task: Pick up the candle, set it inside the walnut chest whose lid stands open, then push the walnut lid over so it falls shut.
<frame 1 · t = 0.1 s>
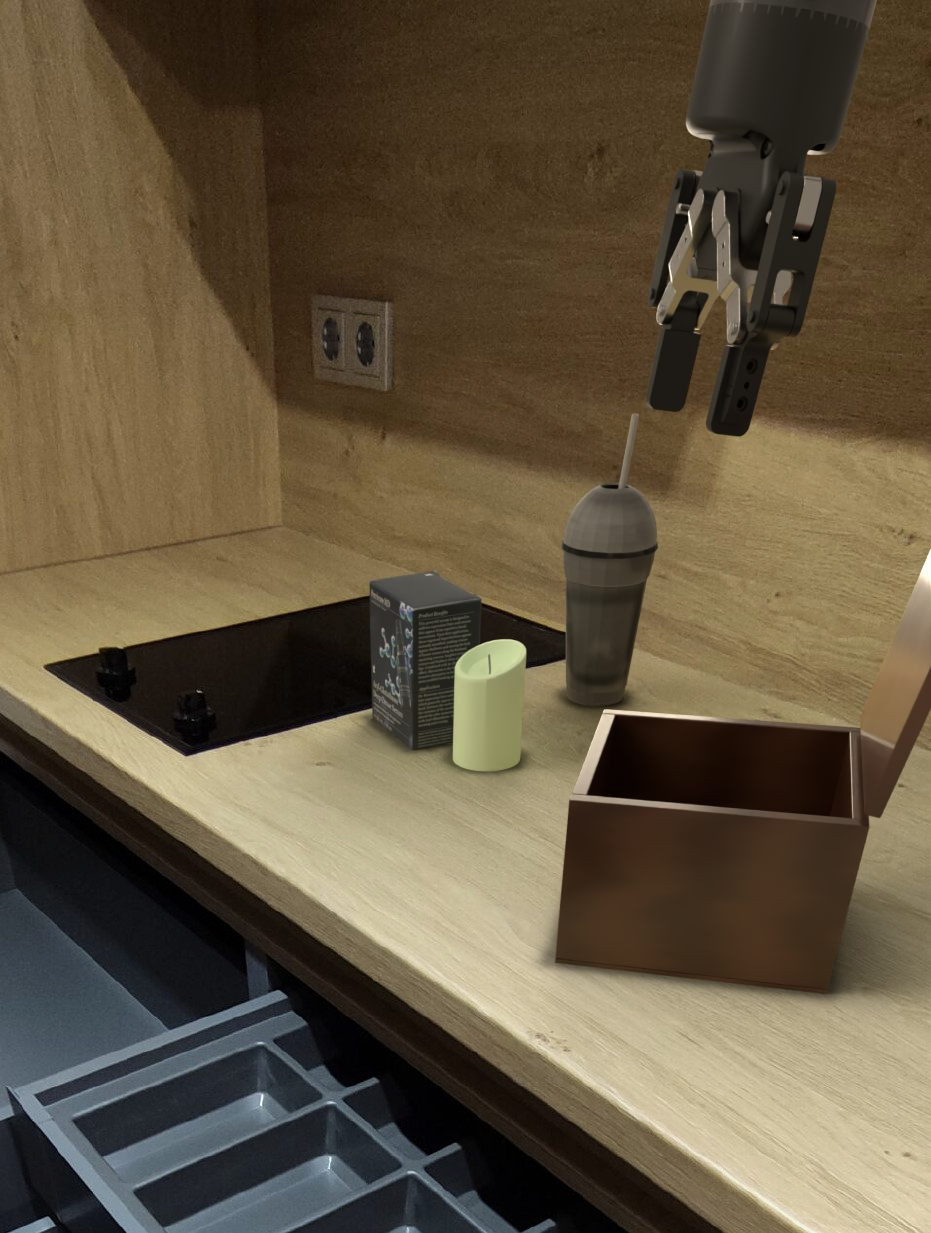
hand: (692, 421, 68), 23 cm above the table, tool pointing down, fingers open, 8 cm apart
candle: (485, 767, 92), on the table
box: (423, 737, 97), on the table
beverage cup: (593, 705, 102), on the table
chest: (695, 928, 73), on the table
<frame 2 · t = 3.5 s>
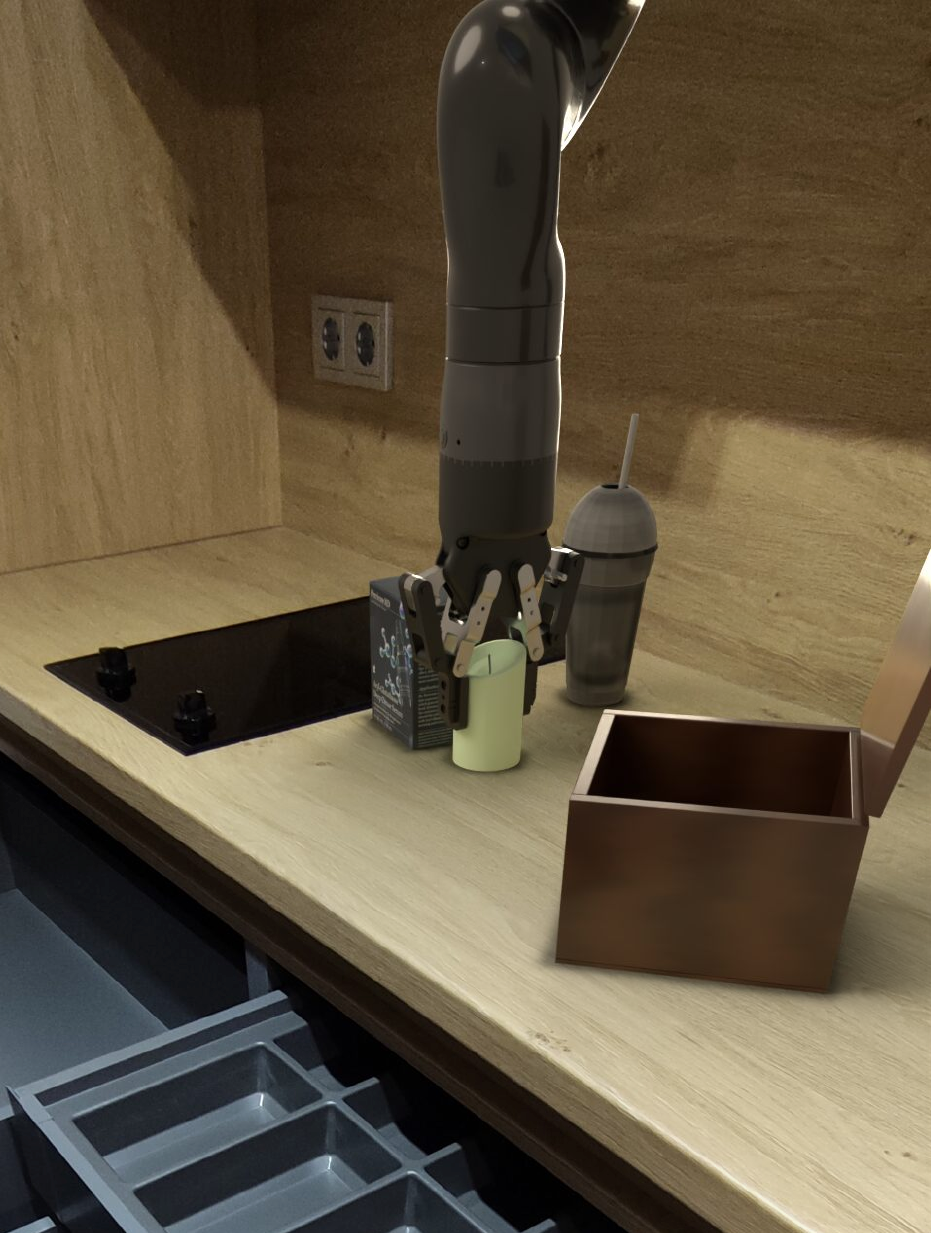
hand: (487, 718, 90), 3 cm above the table, tool pointing down, fingers closed on candle, 5 cm apart
candle: (485, 768, 92), on the table, touching gripper
everything else where it was.
when the fingers open (4 cm above the table, at t = 13.4 s): candle stays where it is, resting on chest.
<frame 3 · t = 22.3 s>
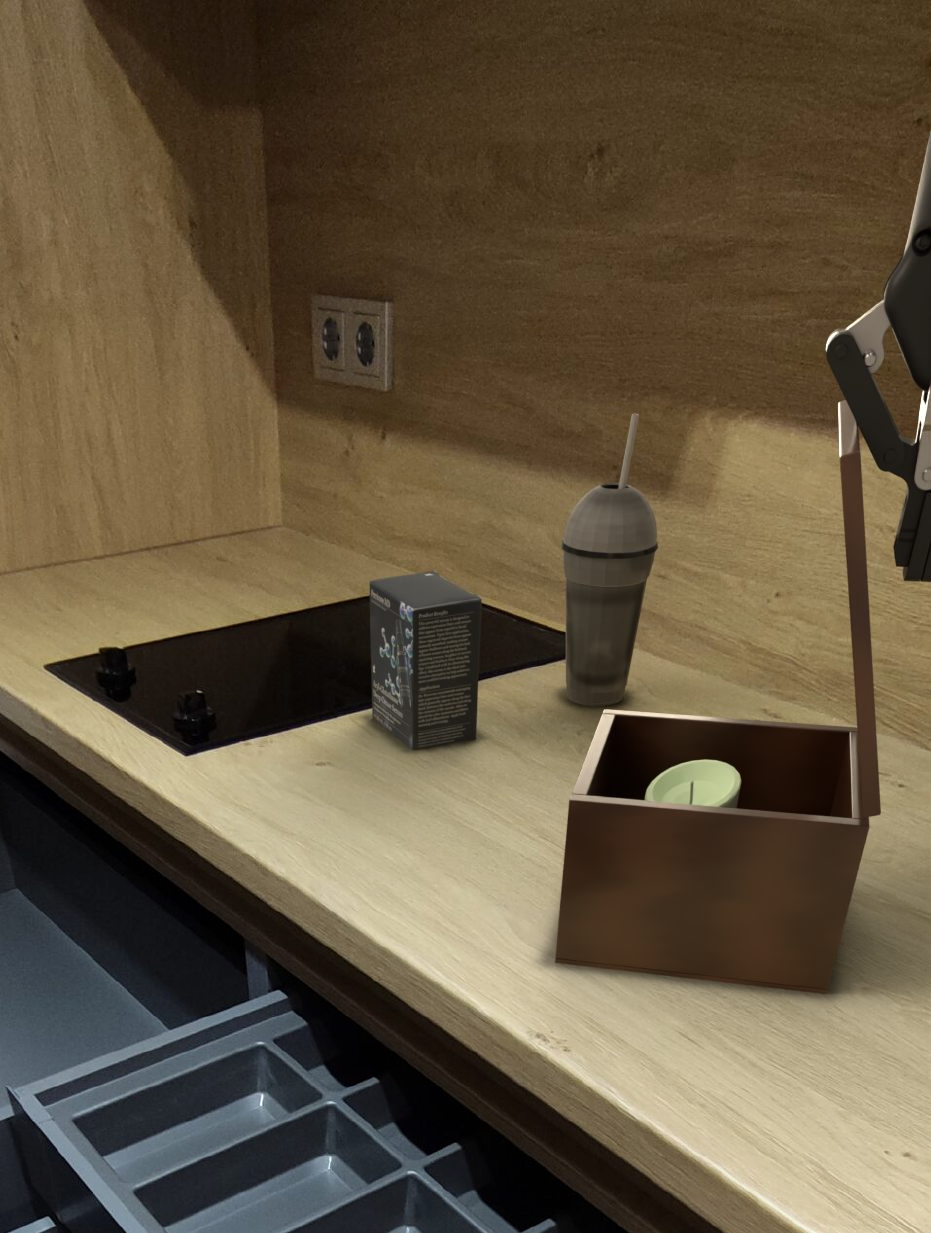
hand: (919, 577, 58), 19 cm above the table, tool pointing down, fingers closed
candle: (673, 916, 73), point 1 cm above the table, touching chest
lid: (859, 607, 60), point 18 cm above the table, hinge at 73.4°
everything else where it was.
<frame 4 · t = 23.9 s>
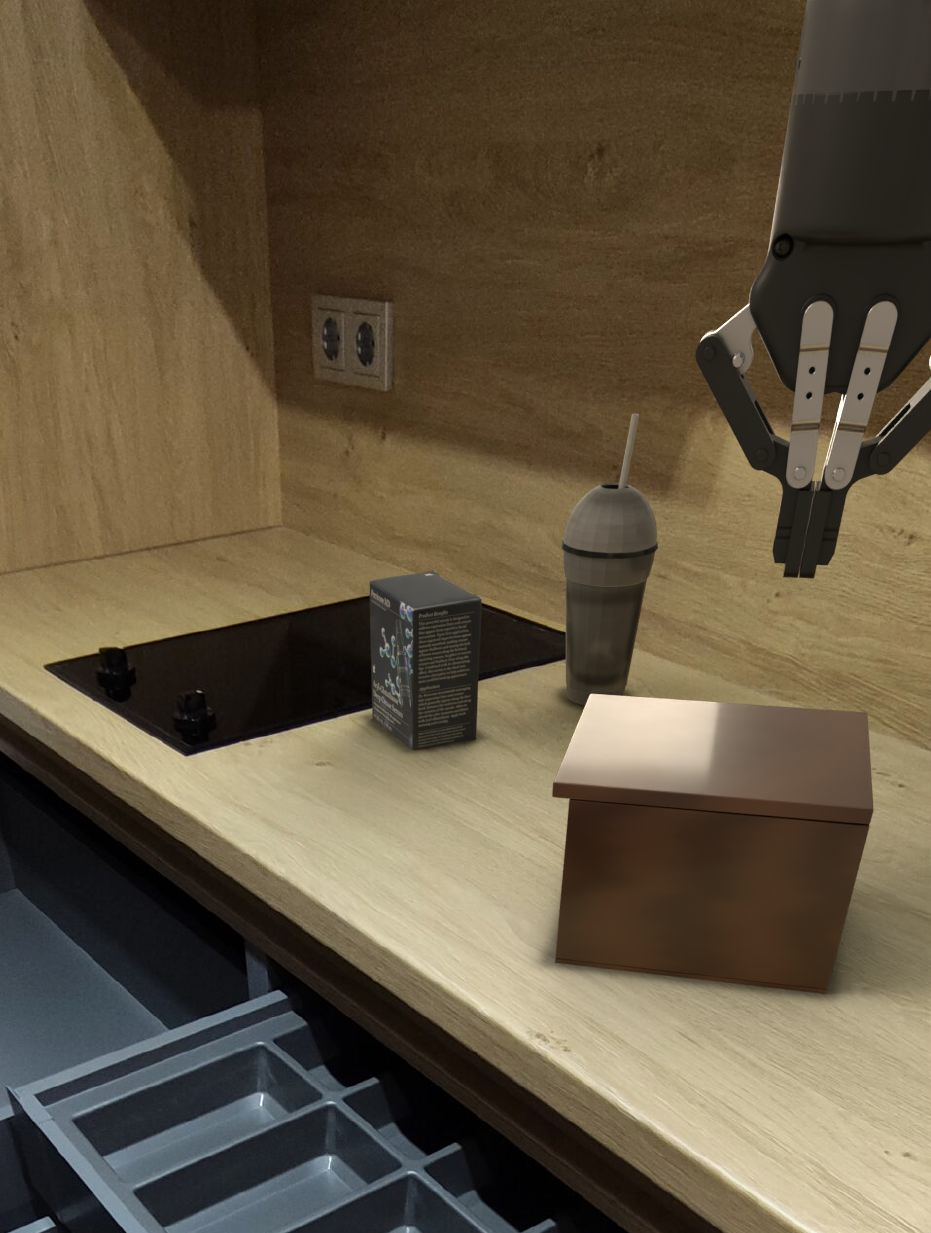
hand: (799, 573, 60), 19 cm above the table, tool pointing down, fingers closed
lid: (716, 752, 66), point 10 cm above the table, hinge at -0.1°
everything else where it was.
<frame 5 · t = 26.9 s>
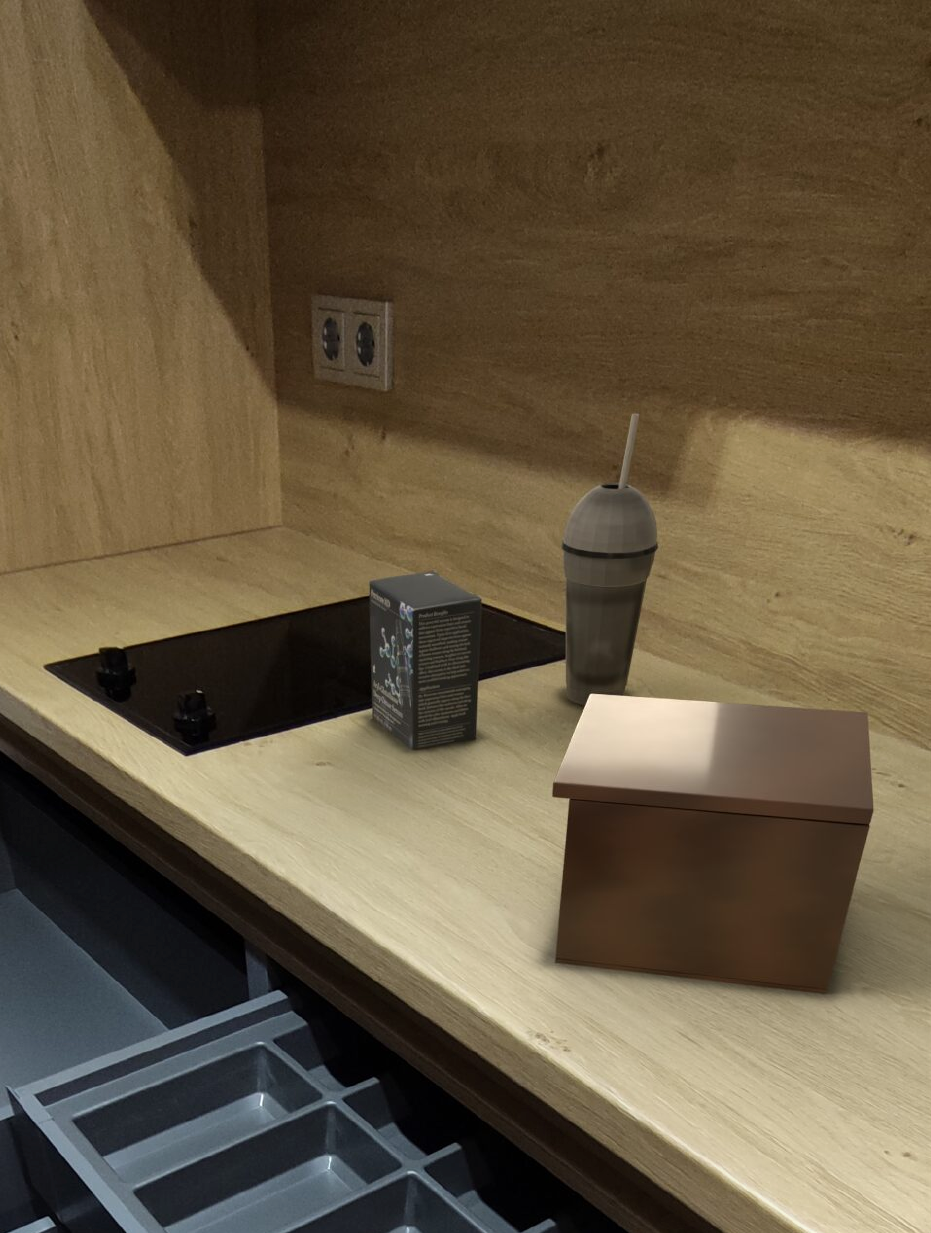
nothing on the table moved.
at the end: candle inside the target area in the chest (1.4 cm from its centre), point 0.6 cm above the chest's base; lid at +0° (first picture: +100°) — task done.
